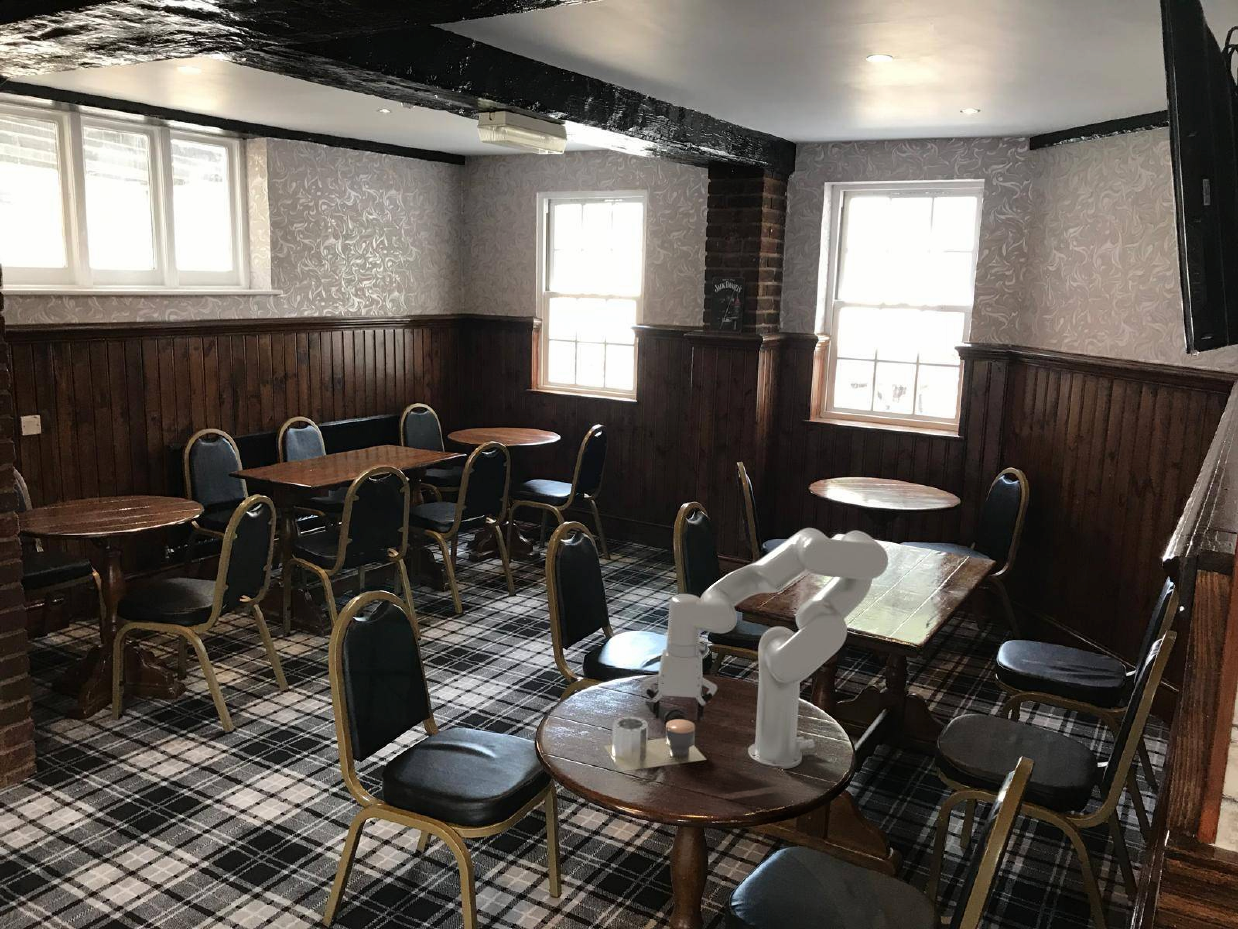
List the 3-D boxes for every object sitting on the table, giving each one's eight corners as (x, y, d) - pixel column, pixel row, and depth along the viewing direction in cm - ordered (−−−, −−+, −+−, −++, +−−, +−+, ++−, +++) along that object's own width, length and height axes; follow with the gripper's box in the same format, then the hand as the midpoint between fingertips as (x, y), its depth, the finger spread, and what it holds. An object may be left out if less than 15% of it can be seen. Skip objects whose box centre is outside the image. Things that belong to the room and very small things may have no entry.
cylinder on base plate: (684, 739, 242) (686, 708, 241) (706, 763, 230) (707, 731, 229) (603, 750, 235) (604, 718, 234) (621, 775, 223) (622, 742, 222)
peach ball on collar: (687, 745, 237) (688, 718, 235) (698, 758, 230) (699, 730, 229) (660, 748, 235) (661, 721, 233) (671, 762, 228) (672, 733, 227)
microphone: (640, 716, 262) (673, 739, 244) (634, 696, 261) (666, 718, 243) (658, 707, 264) (692, 729, 246) (652, 688, 263) (685, 708, 245)
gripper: (718, 644, 232) (713, 713, 234) (645, 640, 232) (640, 708, 235) (721, 656, 224) (715, 727, 227) (645, 651, 224) (640, 722, 227)
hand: (677, 717), depth 231 cm, fingers open, 9 cm apart
